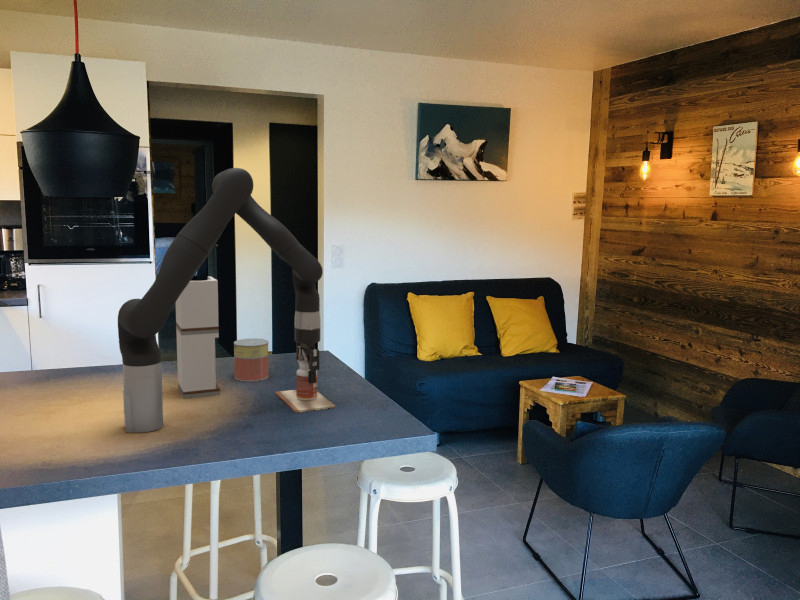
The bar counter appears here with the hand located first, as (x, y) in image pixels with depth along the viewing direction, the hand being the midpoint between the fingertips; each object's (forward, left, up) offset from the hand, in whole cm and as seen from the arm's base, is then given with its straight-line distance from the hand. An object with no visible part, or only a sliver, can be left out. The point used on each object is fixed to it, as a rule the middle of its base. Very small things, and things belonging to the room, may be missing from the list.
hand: (307, 379), depth 193 cm
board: (-1, 0, -6) cm, 6 cm away
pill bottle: (0, 0, -6) cm, 6 cm away
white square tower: (-28, +21, -7) cm, 36 cm away
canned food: (-9, +32, -7) cm, 34 cm away
